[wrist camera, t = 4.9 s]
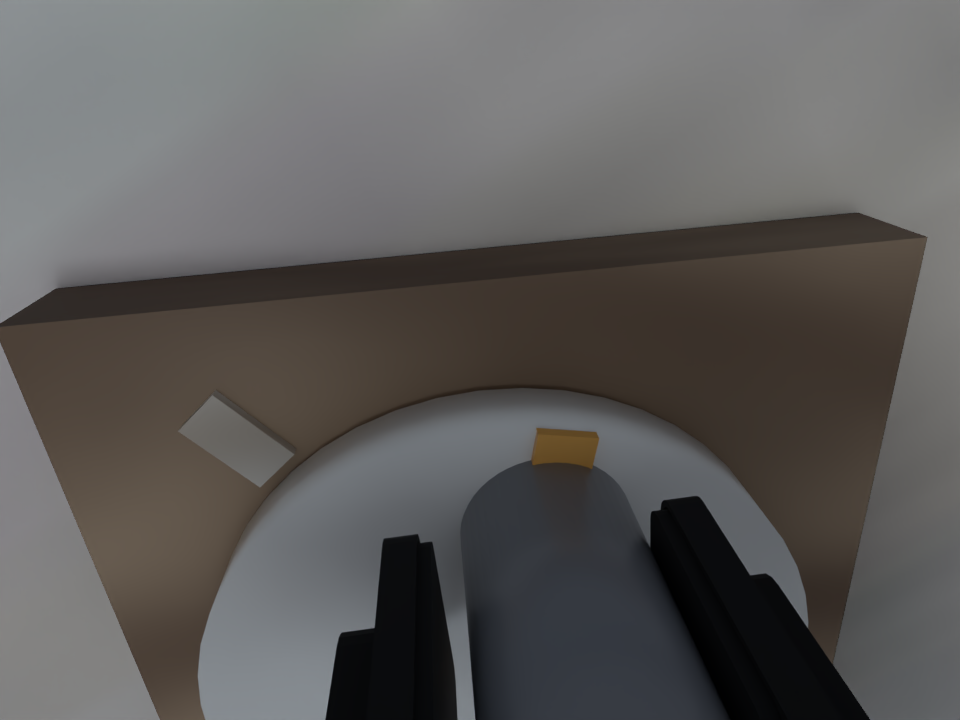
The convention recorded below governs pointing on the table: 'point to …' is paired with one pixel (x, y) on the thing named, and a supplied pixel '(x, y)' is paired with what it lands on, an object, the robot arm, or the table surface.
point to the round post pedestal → (487, 560)
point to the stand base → (461, 387)
